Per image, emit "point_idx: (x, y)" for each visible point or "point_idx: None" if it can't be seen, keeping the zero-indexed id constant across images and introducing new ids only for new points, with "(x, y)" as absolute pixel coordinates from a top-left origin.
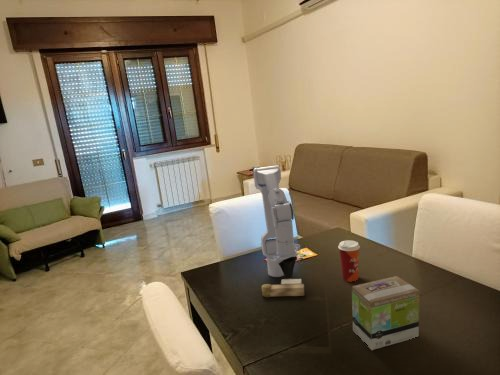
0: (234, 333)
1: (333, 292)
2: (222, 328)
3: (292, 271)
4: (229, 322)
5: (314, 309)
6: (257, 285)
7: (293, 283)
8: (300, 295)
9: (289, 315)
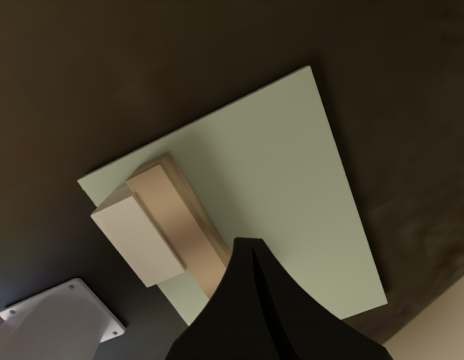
0: (460, 251)
1: (42, 40)
2: (440, 291)
3: (240, 262)
4: (406, 291)
5: (231, 64)
6: (174, 333)
7: (153, 226)
8: (177, 166)
9: None
